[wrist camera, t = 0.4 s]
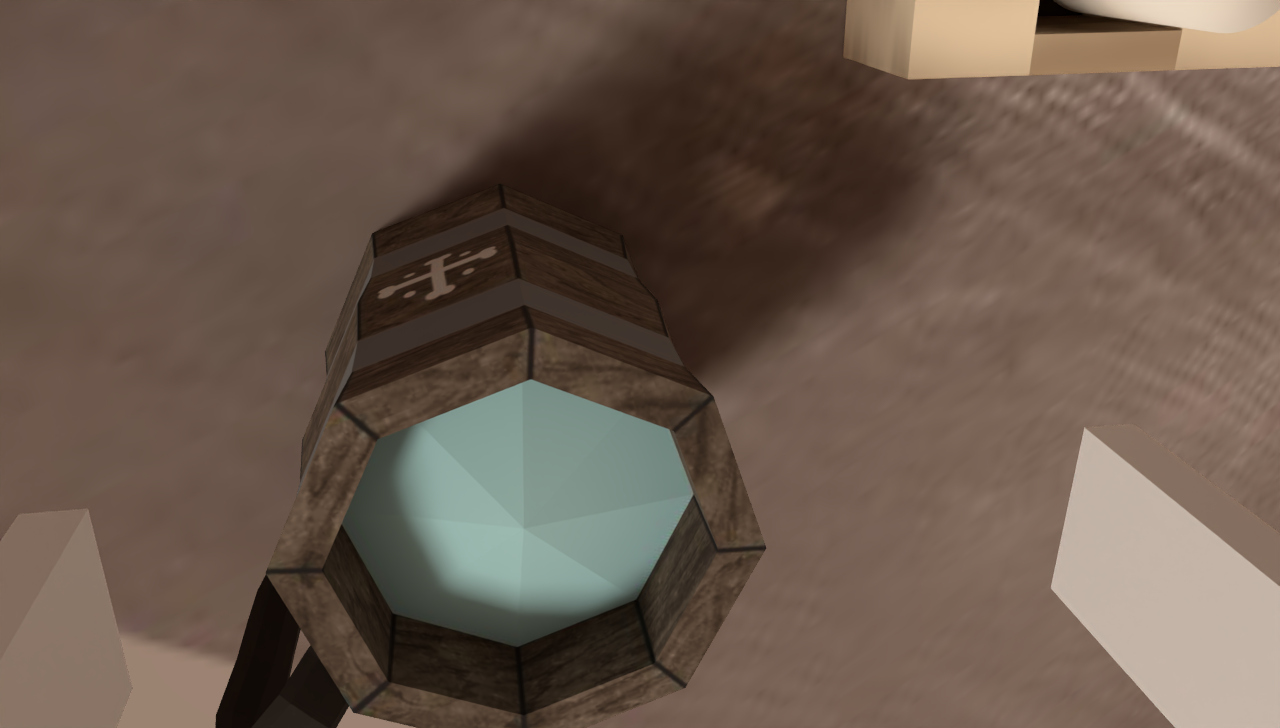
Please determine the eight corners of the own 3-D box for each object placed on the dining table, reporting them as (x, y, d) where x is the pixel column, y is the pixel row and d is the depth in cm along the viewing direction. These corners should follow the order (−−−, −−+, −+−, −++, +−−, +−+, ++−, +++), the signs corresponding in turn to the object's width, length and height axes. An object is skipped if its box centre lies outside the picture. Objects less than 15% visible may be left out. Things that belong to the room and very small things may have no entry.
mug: (501, 108, 38) (534, 214, 24) (728, 346, 43) (860, 542, 30) (143, 455, 40) (-6, 725, 27) (399, 637, 46) (382, 938, 32)
